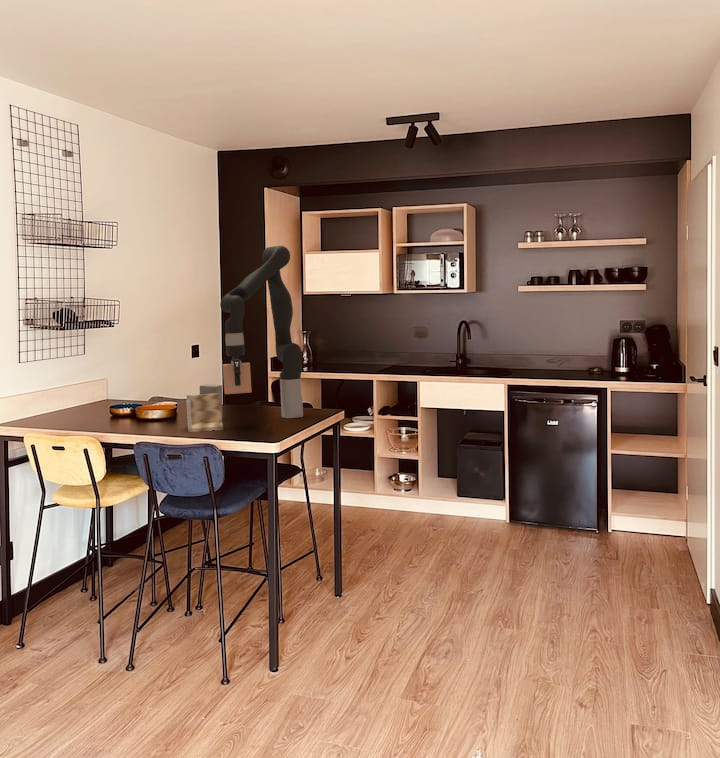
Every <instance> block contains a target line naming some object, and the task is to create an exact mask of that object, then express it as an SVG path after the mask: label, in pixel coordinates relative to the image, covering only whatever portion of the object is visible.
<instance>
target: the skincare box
mask: <svg viewBox="0 0 720 758" xmlns="http://www.w3.org/2000/svg"><path fill="white" fill-rule="evenodd" d="M218 393H220V395H221V412H222V413H223V385H222V384H207V383H205V384H201V385H199V395H201V394H218Z"/></svg>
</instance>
